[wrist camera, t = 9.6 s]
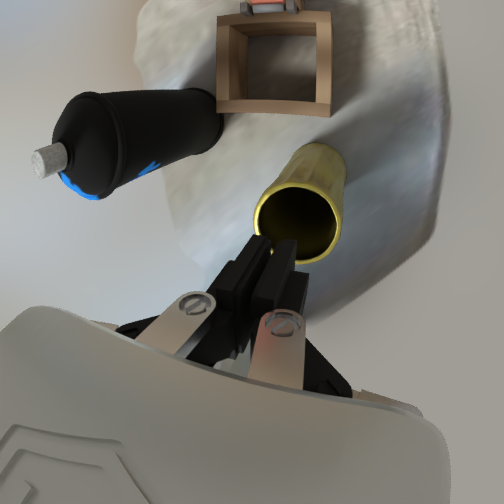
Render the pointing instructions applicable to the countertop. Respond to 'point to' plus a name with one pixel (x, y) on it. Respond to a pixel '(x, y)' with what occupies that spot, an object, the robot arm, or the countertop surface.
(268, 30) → the block
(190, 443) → the robot arm
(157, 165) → the aerosol can
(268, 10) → the keeper bar
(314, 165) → the vase
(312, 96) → the countertop surface
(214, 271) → the countertop surface
